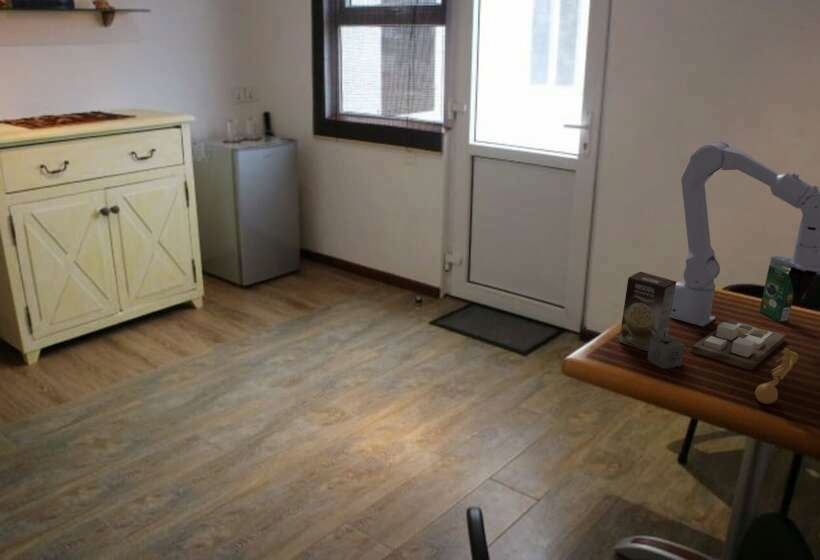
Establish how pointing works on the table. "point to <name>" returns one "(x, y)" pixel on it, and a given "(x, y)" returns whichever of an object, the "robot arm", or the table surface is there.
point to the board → (744, 330)
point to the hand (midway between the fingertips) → (797, 301)
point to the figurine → (776, 378)
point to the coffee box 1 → (646, 309)
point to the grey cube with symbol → (665, 352)
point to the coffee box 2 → (777, 294)
